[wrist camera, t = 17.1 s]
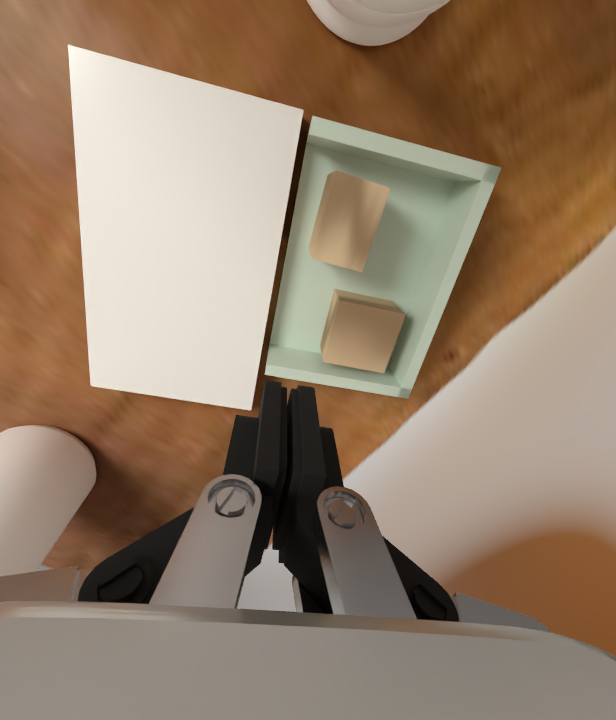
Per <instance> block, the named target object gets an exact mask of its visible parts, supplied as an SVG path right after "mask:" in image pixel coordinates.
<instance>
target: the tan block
mask: <svg viewBox="0 0 616 720" xmlns="http://www.w3.org/2000/svg"><path fill="white" fill-rule="evenodd" d="M404 317H405V313H404V312H403V311H402V310H401V309H400V308H399V307H398V306H397V305H396V304H395V303H394V302H393V301H389V300H384V299H380V298H375V297H371V296H366V295H361V294H357V293H352V292H347V291H343V290H338V289H334V293H333V296H332V300H331V304H330V308H329V312H328V316H327V319H326V323H325V327H324V331H323V335H322V339H321V342H320V348H321V354H322V359H323V362H325V363H330V364H336V365H341V366H347V367H352V368H358V369H363V370H369V371H374V372H379V373H384V372H385V370H386V367H387V364H388V361H389V359H390V356H391V353H392V350H393V347H394V345H395V342H396V339H397V336H398V334H399V331H400V328H401V325H402V323H403V320H404Z"/></svg>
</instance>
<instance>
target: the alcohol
mask: <svg viewBox="0 0 616 720" xmlns="http://www.w3.org/2000/svg"><path fill="white" fill-rule="evenodd" d="M95 482H96V467H95V460H94V458H93V455H92V453H91V452H90V450H89V449H88V447H87V446H86V445H85V444H84V443H83V442H82V441H81V440H79V439H78V438H77V437H75V436H74V435H72V434H70V433H68V432H66V431H64V430H61V429H59V428H56V427H51V426H47V425H26V426H19V427H15V428H10V429H7V430H5V431H3V432H1V433H0V577H1V576H8V575H15V574H22V573H29V572H36V570H37V569H38V568H39V566H40V565H41V563H42V562H43V560H44V559H45V557H46V556H47V554H48V553H49V551H50V550H51V548H52V547H53V545H54V544H55V542H56V541H57V539H58V538H59V537H60V535H61V534H62V532H63V531H64V529H65V528H66V526H67V525H68V523H69V522H70V520H71V519H72V517H73V516H74V514H75V513H76V511H77V510H78V509H79V507H80V506H81V504H82V503H83V501H84V500H85V498H86V497H87V495H88V494H89V492H90V491H91V489H92V488H93V486H94V484H95Z"/></svg>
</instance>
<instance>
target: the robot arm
mask: <svg viewBox="0 0 616 720" xmlns="http://www.w3.org/2000/svg"><path fill="white" fill-rule="evenodd" d="M272 528H273V545H272V547H273V550H279V563H284V565H285V567H286V568H287V569H288V570H289V571H290V572H291V573H292V574H293V578H292V585H293V592H294V599H295V605H296V612H285V611H267V610H250V609H237V606H238V602H239V598H240V594H241V590H242V586H243V582H244V578H245V576H246V575H247V574H249V573H250V572H251V571H252V570H253V569H254V568H255V567H257V566H258V565H259V564H260V563H261V559H262V555H263V551H264V549H267V548H268V544H269V540H270V536H271V532H272ZM0 720H616V656H613V655H611V654H609V653H607V652H605V651H603V650H601V649H599V648H597V647H595V646H592V645H589V644H587V643H584V642H581V641H578V640H575V639H572V638H569V637H566V636H563V635H559V634H554V633H551V632H550V631H549V629H547V628H546V627H545V626H544V625H543V624H541V623H540V622H539V621H537V620H535V619H533V618H531V617H529V616H527V615H524V614H520V613H518V612H515V611H511V610H508V609H505V608H502V607H499V606H496V605H493V604H490V603H487V602H483V601H481V600H477V599H474V598H471V597H468V596H465V595H462V594H459V593H455V594H454V595H453V596H450V595H449V594H448V593H447V592H446V591H445V590H444V589H443V588H442V586H440V585H439V584H438V583H437V582H436V581H435V580H434V579H433V578H431V577H430V576H429V575H428V574H427V573H426V572H424V571H423V570H422V569H421V568H419V567H418V566H417V565H416V564H415V563H414V562H413V561H411V560H410V559H409V558H408V557H407V556H405V555H404V554H403V553H402V552H401V551H399V550H398V549H397V548H396V547H395V546H394V545H392V544H391V543H390V542H389V541H388V540H386V539H385V538H384V537H383V536H382V535H381V532H380V530H379V527H378V525H377V523H376V520H375V518H374V515H373V513H372V511H371V508H370V507H369V505H368V503H367V502H366V501H365V499H364V498H363V497H362V496H361V495H359V494H358V493H356V492H355V491H353V490H351V489H348V488H345V487H344V486H343V481H342V475H341V470H340V465H339V459H338V454H337V449H336V443H335V438H334V433H333V430H332V429H331V428H325V427H320V426H319V419H318V411H317V404H316V397H315V389H314V388H312V387H306V386H300V385H298V387H297V389H291V391H290V396H289V400H288V404H287V388H285V387H281V382H274V381H268V380H265V384H264V389H263V395H262V400H261V405H260V411H259V416H258V418H254V417H247V416H240V415H236V418H235V422H234V427H233V431H232V436H231V440H230V445H229V450H228V454H227V459H226V463H225V468H224V472H223V475H222V476H220V477H217V478H215V479H213V480H212V481H210V482H209V483H208V484H207V485H206V487H205V488H204V489H203V491H202V493H201V495H200V497H199V499H198V502H197V504H196V506H195V507H194V508H192V509H190V510H189V511H187V512H185V513H184V514H182V515H180V516H178V517H177V518H175V519H173V520H172V521H170V522H168V523H166V524H165V525H163V526H161V527H160V528H158V529H156V530H155V531H153V532H151V533H149V534H148V535H146V536H144V537H143V538H141V539H139V540H137V541H136V542H134V543H132V544H131V545H129V546H127V547H126V548H124V549H122V550H120V551H119V552H117V553H115V554H114V555H112V556H110V557H108V558H107V559H105V560H104V561H103V562H101V563H100V564H99V565H97V566H96V567H95V568H92V569H85V570H79V566H72V567H65V568H57V569H50V570H44V571H36V572H29V573H22V574H15V575H8V576H1V577H0Z"/></svg>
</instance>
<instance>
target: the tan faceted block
mask: <svg viewBox="0 0 616 720" xmlns="http://www.w3.org/2000/svg"><path fill="white" fill-rule="evenodd" d="M390 189H391V188H389V187H386V186H383V185H380V184H377V183H374V182H371V181H368V180H365V179H361V178H358V177H355V176H352V175H349V174H346V173H343V172H340V171H337V170H336V171H334V172H332V173H330V174H328V175H327V179H326V183H325V187H324V190H323V194H322V198H321V202H320V205H319V209H318V213H317V217H316V220H315V224H314V228H313V232H312V235H311V239H310V243H309V247H308V248H309V251H310V254H311V257H312V259H315V260H319V261H322V262H326V263H330V264H333V265H337V266H340V267H344V268H347V269H351V270H355V271H358V272H362V271H363V268H364V265H365V262H366V259H367V256H368V254H369V251H370V248H371V245H372V242H373V239H374V236H375V233H376V230H377V227H378V224H379V221H380V218H381V215H382V213H383V210H384V207H385V204H386V201H387V198H388V195H389V192H390Z"/></svg>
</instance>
